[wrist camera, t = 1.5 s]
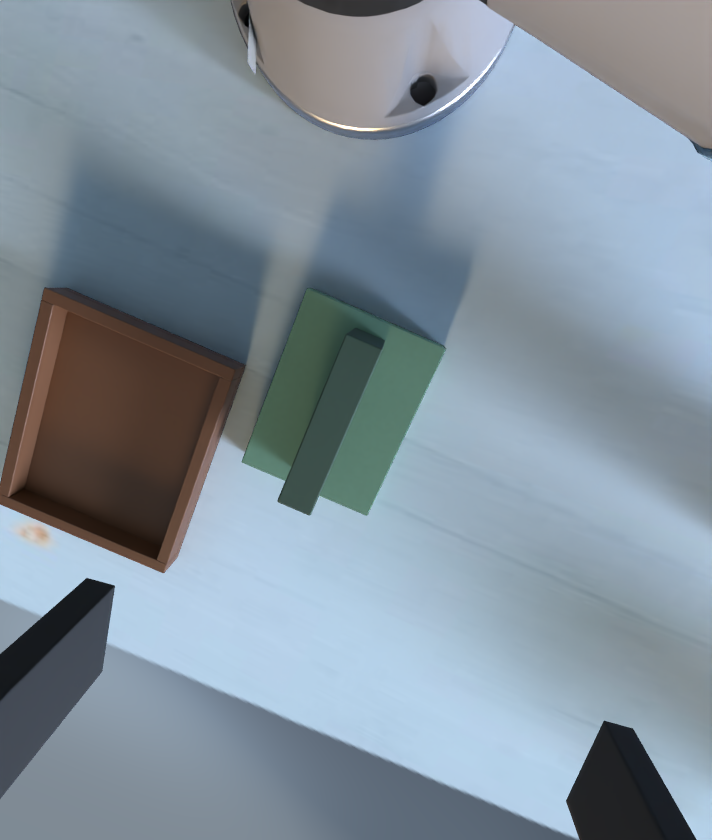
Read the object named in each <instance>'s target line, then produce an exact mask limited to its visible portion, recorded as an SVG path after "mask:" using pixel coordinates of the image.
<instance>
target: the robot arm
mask: <svg viewBox="0 0 712 840" xmlns="http://www.w3.org/2000/svg"><path fill="white" fill-rule="evenodd" d="M231 4H232V8H233V12H234V16H235V19H236V22H237V24H238V27H239V30H240V33H241V35H242V37H243V39H244V42H245V44H246V46H247V48H248V64H249V66H250V67H251V69H252V70H253V72H254V73H255V75H256V64H257V66H258V67H259V69H260V71H261V72H262V74H263V75H264V77H265V78H266V80H267V81H268V83H269V84H270V86H271V87H272V88H273V89H274V91H275V92H276V93H277V94H278V95H279V97H280V98H281V99H282V100H283V101H284V102H285V103H286V104H287V105H288V106H289V107H291V108H292V109H293V110H294V111H295V112H297V113H298V114H299V115H300V116H302V117H303V118H305V119H306V120H308V121H310V122H311V123H313V124H315V125H317V126H319V127H321V128H323V129H325V130H327V131H330V132H333V133H335V134H339V135H342V136H346V137H351V138H358V139H374V140H376V139H389V138H394V137H399V136H404V135H407V134H410V133H414V132H416V131H419V130H421V129H424V128H426V127H428V126H430V125H432V124H434V123H436V122H437V121H439V120H441V119H442V118H444V117H445V116H447V115H448V114H450V113H451V112H453V111H454V110H455V109H456V108H458V107H459V106H460V105H461V104H463V103H464V102H465V101H466V100H467V99H468V98H469V97H470V96H471V95H472V94H473V93H474V92H475V91H476V90H477V88H478V87H479V86H480V85H481V84H482V82H483V81H484V80H485V79H486V77H487V76H488V75H489V73H490V72H491V70H492V69H493V67H494V66H495V64H496V62H497V61H498V59H499V57H500V56H501V54H502V52H503V50H504V48H505V46H506V44H507V42H508V40H509V38H510V35H511V33H512V31H513V28H514V26H515V25H516V26H518V27H519V28H521V29H523V30H524V31H526V32H527V33H529V34H530V35H532V36H534V37H535V38H537V39H538V40H540V41H541V42H543V43H544V44H546V45H547V46H549V47H550V48H552V49H553V50H555V51H557V52H558V53H560V54H561V55H563V56H564V57H566V58H567V59H569V60H570V61H572V62H573V63H575V64H576V65H578V66H579V67H581V68H582V69H584V70H585V71H587V72H588V73H590V74H591V75H593V76H595V77H596V78H598V79H599V80H601V81H602V82H604V83H605V84H607V85H608V86H610V87H611V88H613V89H614V90H616V91H617V92H619V93H620V94H622V95H623V96H625V97H626V98H628V99H629V100H631V101H632V102H634V103H636V104H637V105H639V106H640V107H642V108H643V109H645V110H646V111H648V112H649V113H651V114H652V115H654V116H655V117H657V118H658V119H660V120H661V121H663V122H664V123H666V124H667V125H669V126H670V127H672V128H673V129H675V130H677V131H678V132H680V133H681V134H683V135H684V136H686V137H687V138H688V139H689V140H690V141H691V142H692V143H693V145H694V147H695V149H696V150H697V152H698V153H699V154H701V155H702V156H703V157H705V158H707V159H709V160H711V161H712V0H231ZM114 589H115V586H114V585H110V584H107V583H103V582H99V581H96V580H92V579H89V578H86V579H85V580H84V581H83V582H82V583H81V584H79V585H78V586H77V587H76V588H75V589H74V590H73V591H72V592H70V593H69V594H68V595H67V596H66V597H65V598H64V599H62V600H61V601H60V602H59V603H58V604H57V605H56V606H55V607H53V608H52V609H51V610H50V611H49V612H48V613H47V614H45V615H44V616H43V617H42V618H41V619H40V620H39V621H37V622H36V623H35V624H34V625H33V626H32V627H31V628H30V629H28V630H27V631H26V632H25V633H24V634H23V635H22V636H20V637H19V638H18V639H17V640H16V641H15V642H14V643H13V644H11V645H10V646H9V647H8V648H7V649H6V650H5V651H3V652H2V653H1V654H0V798H1V797H2V796H3V795H4V793H5V792H6V791H7V790H8V788H9V787H10V786H11V785H12V783H13V782H14V781H15V779H16V778H17V777H18V776H19V774H20V773H21V772H22V771H23V769H24V768H25V767H26V766H27V765H28V763H29V762H30V761H31V760H32V758H33V757H34V756H35V755H36V753H37V752H38V751H39V750H40V748H41V747H42V746H43V744H44V743H45V742H46V741H47V740H48V738H49V737H50V736H51V735H52V734H53V732H54V731H55V730H56V729H57V727H58V726H59V725H60V724H61V722H62V721H63V720H64V719H65V717H66V716H67V715H68V713H69V712H70V711H71V709H72V708H73V707H74V706H75V705H76V703H77V702H78V701H79V700H80V698H81V697H82V696H83V695H84V693H85V692H86V691H87V690H88V689H89V687H90V686H91V685H92V684H93V682H94V681H95V680H96V679H97V677H98V676H99V675H100V673H101V672H102V669H103V662H104V655H105V649H106V642H107V635H108V629H109V622H110V615H111V609H112V602H113V595H114ZM566 802H567V805H568V808H569V811H570V813H571V816H572V819H573V822H574V825H575V828H576V831H577V833H578V836H579V839H580V840H696V838H695V836H694V834H693V833H692V831H691V829H690V827H689V826H688V824H687V822H686V820H685V819H684V817H683V815H682V813H681V812H680V810H679V808H678V806H677V805H676V803H675V801H674V799H673V798H672V796H671V794H670V793H669V791H668V789H667V787H666V786H665V784H664V782H663V780H662V779H661V777H660V775H659V773H658V772H657V770H656V768H655V766H654V765H653V763H652V761H651V759H650V758H649V756H648V754H647V752H646V751H645V749H644V747H643V745H642V744H641V742H640V740H639V738H638V737H637V735H636V733H635V731H634V730H633V729H632V728H629V727H625V726H621V725H618V724H614V723H611V722H607V721H604V722H603V724H602V726H601V728H600V730H599V732H598V734H597V737H596V739H595V741H594V743H593V745H592V747H591V749H590V751H589V753H588V756H587V758H586V760H585V762H584V764H583V766H582V768H581V770H580V772H579V775H578V777H577V779H576V781H575V783H574V785H573V787H572V789H571V791H570V794H569V796H568V798H567V800H566Z"/></svg>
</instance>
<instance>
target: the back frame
mask: <svg viewBox="0 0 712 840" xmlns="http://www.w3.org/2000/svg"><path fill="white" fill-rule="evenodd" d="M245 367H246V365H244V364H242V363H240V362H237V361H235V360H233V359H230V358H228V357H226V356H223V355H221V354H219V353H216V352H214V351H212V350H209V349H207V348H205V347H203V346H200V345H198V344H196V343H193V342H191V341H189V340H186V339H184V338H182V337H179V336H177V335H175V334H173V333H170V332H168V331H166V330H163V329H161V328H159V327H156V326H154V325H152V324H149V323H147V322H145V321H142V320H140V319H138V318H136V317H133V316H131V315H129V314H126V313H124V312H122V311H119V310H117V309H115V308H112V307H110V306H108V305H105V304H103V303H101V302H99V301H96V300H94V299H92V298H89V297H87V296H85V295H82V294H80V293H78V292H75V291H73V290H71V289H68V288H47V287H45V288H44V291H43V295H42V300H41V304H40V309H39V313H38V317H37V322H36V326H35V331H34V335H33V340H32V344H31V348H30V353H29V357H28V362H27V366H26V371H25V375H24V380H23V384H22V388H21V393H20V397H19V402H18V406H17V411H16V415H15V419H14V424H13V428H12V433H11V437H10V442H9V446H8V450H7V455H6V459H5V464H4V468H3V473H2V477H1V482H0V504H1V505H3V506H5V507H8V508H10V509H12V510H15V511H17V512H19V513H22V514H24V515H27V516H29V517H31V518H34V519H36V520H38V521H41V522H43V523H46V524H48V525H50V526H53V527H55V528H57V529H60V530H62V531H64V532H67V533H69V534H72V535H74V536H76V537H79V538H81V539H83V540H86V541H88V542H91V543H93V544H95V545H98V546H100V547H102V548H105V549H107V550H109V551H112V552H114V553H117V554H119V555H121V556H124V557H126V558H128V559H131V560H133V561H136V562H138V563H140V564H143V565H145V566H147V567H150V568H152V569H155V570H157V571H159V572H162V573H165V571H166V570H167V569H168V568H169V567H170V566H171V564H172V563H173V562H174V561H175V560H176V559H177V557H178V554H179V551H180V548H181V546H182V543H183V540H184V537H185V534H186V532H187V529H188V526H189V523H190V521H191V518H192V515H193V512H194V509H195V507H196V504H197V501H198V498H199V495H200V493H201V490H202V487H203V484H204V481H205V479H206V476H207V473H208V470H209V467H210V465H211V462H212V459H213V456H214V453H215V451H216V448H217V445H218V442H219V439H220V437H221V434H222V431H223V428H224V425H225V423H226V420H227V417H228V414H229V411H230V409H231V406H232V403H233V400H234V397H235V395H236V392H237V389H238V386H239V384H240V381H241V378H242V375H243V372H244V370H245Z"/></svg>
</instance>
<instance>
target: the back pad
mask: <svg viewBox="0 0 712 840" xmlns="http://www.w3.org/2000/svg"><path fill="white" fill-rule="evenodd" d="M445 350H446V348H445V347H444V346H443V345H441V344H438V343H436V342H434V341H432V340H429V339H427V338H425V337H422V336H420V335H418V334H416V333H413V332H411V331H409V330H406V329H404V328H402V327H400V326H397V325H395V324H393V323H390V322H388V321H386V320H384V319H381V318H379V317H377V316H374V315H372V314H370V313H368V312H365V311H363V310H361V309H358V308H356V307H354V306H351V305H349V304H347V303H345V302H342V301H340V300H338V299H335V298H333V297H331V296H329V295H326V294H324V293H322V292H319V291H317V290H315V289H313V288H307V290H306V292H305V295H304V298H303V300H302V303H301V306H300V308H299V311H298V314H297V316H296V319H295V322H294V324H293V327H292V330H291V332H290V335H289V338H288V340H287V343H286V345H285V348H284V351H283V353H282V356H281V359H280V361H279V364H278V367H277V369H276V372H275V375H274V377H273V380H272V383H271V385H270V388H269V391H268V393H267V396H266V399H265V401H264V404H263V406H262V409H261V412H260V414H259V417H258V420H257V422H256V425H255V428H254V430H253V433H252V436H251V438H250V441H249V444H248V446H247V449H246V452H245V454H244V457H243V460H242V463H245V464H247V465H249V466H252V467H254V468H256V469H259V470H261V471H263V472H266V473H268V474H270V475H273V476H275V477H277V478H280V479H282V480H284V481H285V483H284V486H283V488H282V491H281V493H280V496H279V498H278V502H279V503H281V504H284V505H286V506H288V507H291V508H293V509H295V510H298V511H300V512H302V513H305V514H307V515H311V513H312V511H313V509H314V506H315V504H316V502H317V499H318V497H319V496H322V497H324V498H326V499H329V500H331V501H333V502H336V503H338V504H340V505H343V506H345V507H347V508H350V509H352V510H354V511H357V512H359V513H361V514H364V515H366V516H367V515H368V513H369V511H370V509H371V507H372V504H373V502H374V500H375V498H376V496H377V494H378V492H379V490H380V488H381V485H382V483H383V481H384V479H385V477H386V475H387V473H388V471H389V469H390V466H391V464H392V462H393V460H394V458H395V456H396V454H397V452H398V450H399V447H400V445H401V443H402V441H403V439H404V437H405V435H406V433H407V431H408V428H409V426H410V424H411V422H412V420H413V418H414V416H415V414H416V412H417V409H418V407H419V405H420V403H421V401H422V399H423V397H424V395H425V393H426V390H427V388H428V386H429V384H430V382H431V380H432V378H433V376H434V374H435V371H436V369H437V367H438V365H439V363H440V361H441V359H442V357H443V355H444V352H445Z"/></svg>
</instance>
